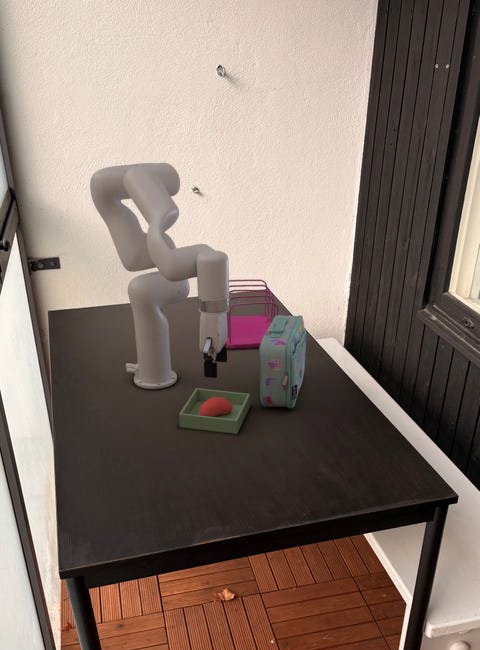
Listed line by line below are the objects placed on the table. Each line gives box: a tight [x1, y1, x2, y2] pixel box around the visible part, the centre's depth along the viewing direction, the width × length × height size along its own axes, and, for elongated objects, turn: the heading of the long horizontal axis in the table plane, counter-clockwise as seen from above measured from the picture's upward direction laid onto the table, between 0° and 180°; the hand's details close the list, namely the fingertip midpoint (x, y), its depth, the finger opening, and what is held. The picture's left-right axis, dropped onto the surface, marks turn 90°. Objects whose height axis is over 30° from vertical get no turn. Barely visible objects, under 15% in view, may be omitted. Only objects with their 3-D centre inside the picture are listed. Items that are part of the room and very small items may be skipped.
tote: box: [178, 387, 251, 435], centre depth 170 cm, size 15×15×4 cm
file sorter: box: [226, 278, 280, 350], centre depth 217 cm, size 17×25×16 cm
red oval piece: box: [199, 397, 233, 417], centre depth 170 cm, size 5×9×6 cm, turn 110°
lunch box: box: [258, 314, 307, 409], centre depth 177 cm, size 27×10×21 cm, turn 168°
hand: (216, 369), depth 164 cm, fingers open, 9 cm apart
